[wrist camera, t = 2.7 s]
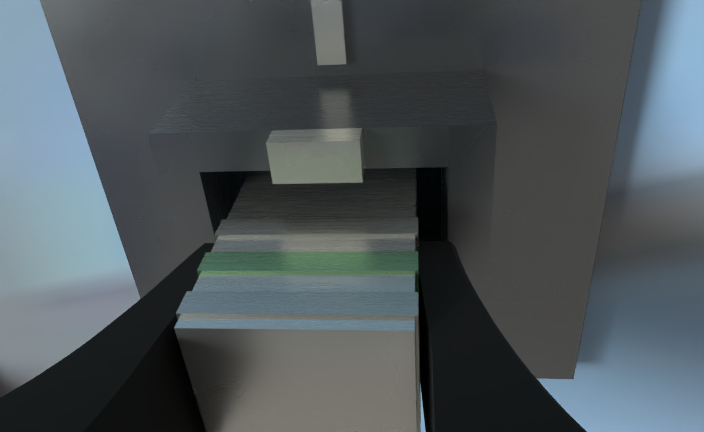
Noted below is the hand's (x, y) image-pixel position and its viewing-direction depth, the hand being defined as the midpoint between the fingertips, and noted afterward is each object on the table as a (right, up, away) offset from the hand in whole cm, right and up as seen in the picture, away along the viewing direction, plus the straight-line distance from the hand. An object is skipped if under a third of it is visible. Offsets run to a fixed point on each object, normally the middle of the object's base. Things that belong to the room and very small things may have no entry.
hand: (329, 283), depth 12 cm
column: (0, +2, +3) cm, 4 cm away
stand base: (0, +2, +3) cm, 4 cm away
